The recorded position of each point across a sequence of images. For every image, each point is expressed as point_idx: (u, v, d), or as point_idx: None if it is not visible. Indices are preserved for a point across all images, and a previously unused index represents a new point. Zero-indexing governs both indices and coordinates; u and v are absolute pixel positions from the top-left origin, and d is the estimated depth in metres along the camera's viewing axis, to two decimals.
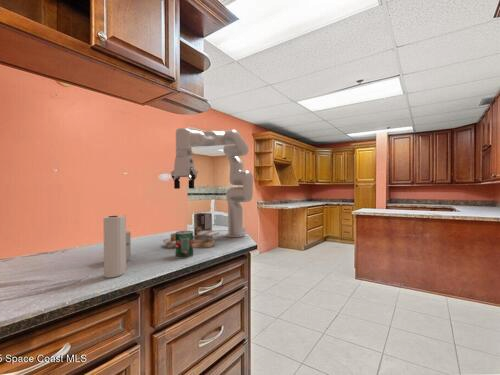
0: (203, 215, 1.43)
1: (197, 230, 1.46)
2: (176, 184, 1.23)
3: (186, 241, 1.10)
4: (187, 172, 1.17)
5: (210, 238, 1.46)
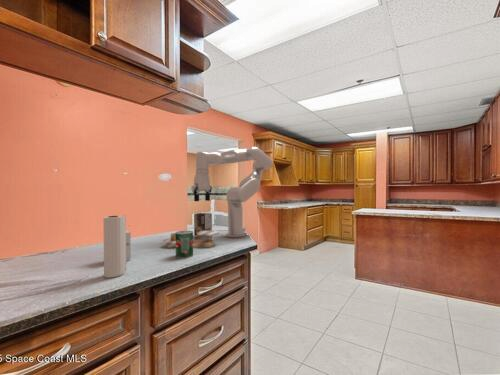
0: (203, 215, 1.43)
1: (197, 230, 1.46)
2: None
3: (186, 241, 1.10)
4: (209, 188, 1.50)
5: (210, 238, 1.46)
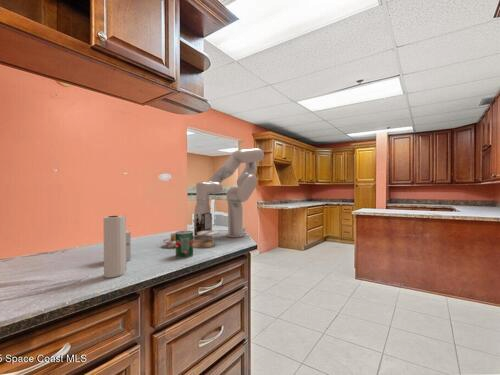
0: (203, 215, 1.43)
1: None
2: None
3: (186, 241, 1.10)
4: None
5: (210, 238, 1.46)
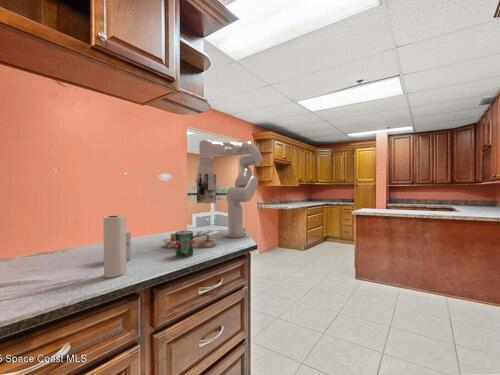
0: (206, 175, 1.33)
1: None
2: None
3: (186, 241, 1.10)
4: None
5: (214, 201, 1.35)
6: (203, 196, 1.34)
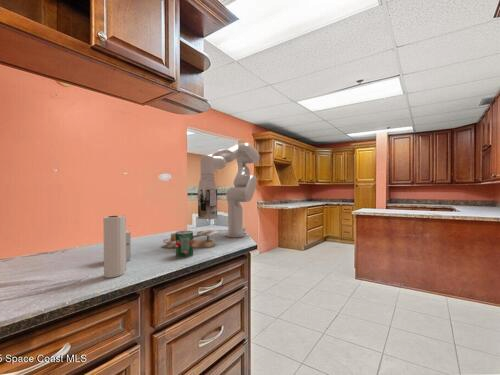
0: (208, 190, 1.30)
1: None
2: None
3: (186, 241, 1.10)
4: None
5: (215, 216, 1.33)
6: (204, 212, 1.31)
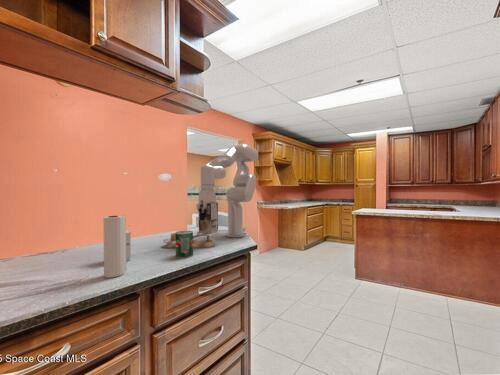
0: (209, 204, 1.31)
1: (202, 221, 1.33)
2: None
3: (186, 241, 1.10)
4: None
5: (216, 230, 1.34)
6: (205, 225, 1.32)
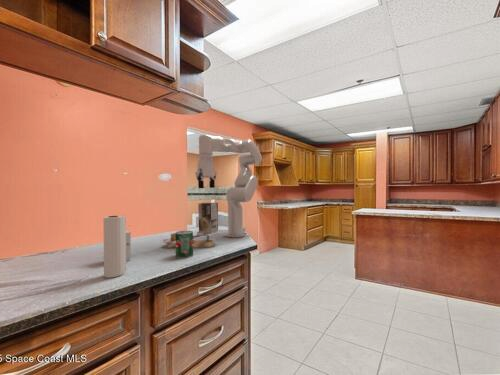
0: (209, 204, 1.31)
1: (202, 221, 1.33)
2: None
3: (186, 241, 1.10)
4: (213, 174, 1.40)
5: (216, 230, 1.34)
6: (205, 226, 1.32)
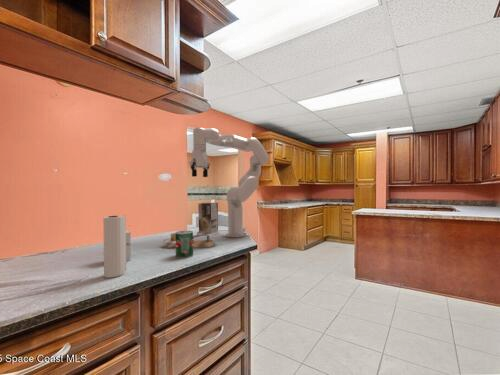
0: (209, 204, 1.31)
1: (202, 221, 1.33)
2: None
3: (186, 241, 1.10)
4: (207, 164, 1.51)
5: (216, 230, 1.34)
6: (205, 226, 1.32)
